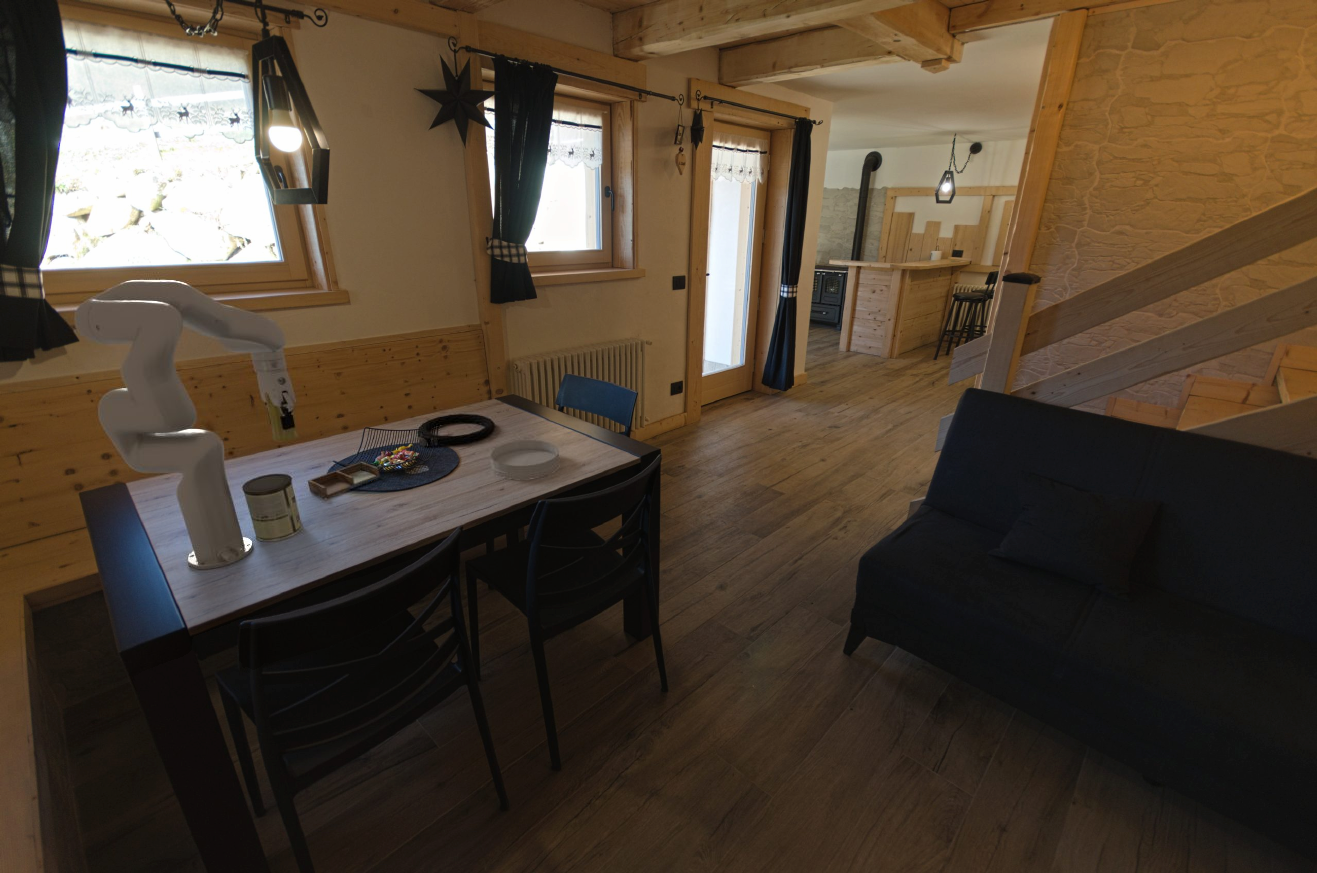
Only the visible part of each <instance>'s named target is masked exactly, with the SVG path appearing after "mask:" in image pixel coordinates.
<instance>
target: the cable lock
mask: <svg viewBox="0 0 1317 873" xmlns="http://www.w3.org/2000/svg"><path fill="white" fill-rule="evenodd" d="M460 422H462V424H469V423H470V424H475V423H476V424H475V425H481V426H483V428H481V429H480V430H478V431H475V432H470V433H466V434H460V435H459V434H458V435H439V434H433V433H430V431H431V430H433V429H432V428H434V427H436V426H438V427H441V426H440V425H442V426H446V425H450V423H453V424H459V423H460ZM436 428H437V427H436ZM434 429H435V428H434ZM495 429H496V425H495V422H494V420H492V419H491V418H489V417H487V416H484V415H480V414H473V413H472V414H470V413H458V414H456V413H455V414H447V415H443V416H438V417H435V418H431V419H429V420H427V421H425V422H423V423H421V424H420V426H418V429H417V432H416V434H417V437H418V443H419V445H420V446H421V445H422V446H426V447H428V446H429V445H430V444H431V446H432V445H434V446H435V445H436V444H437V445H438V446H445V447H446V446H447V447H448V446H450V447H451V446H452V447H453V446H460V445H468V444H472V443H476V442H480V441H482V440H484V439H486V438H489V437H491V435H492V434H493V433H494V432H495ZM427 443H428V446H427ZM422 446H421V447H422ZM429 447H430V446H429Z"/></svg>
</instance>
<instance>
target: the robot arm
mask: <svg viewBox="0 0 1317 873" xmlns="http://www.w3.org/2000/svg"><path fill="white" fill-rule="evenodd" d="M73 318H74V319H73V321H74V325H75V326H74V327H75V329H76V330H77V333H79V334H80V335H81V336H82V337H83V338H85V339H86V340H87V341H90V342H92V343H96V344H100V345H101V344H102V345H131V347H130V349H129V350H128V352H127V353H126V355H125V357H124V358H123V361H122V363H121V366H120V377H121V380H122V381H123V384H124V385H125V388H123V387H122V388H116V389H112V390H110V391H108V392H106V393H104V395H102V397H101V399H100V400H99V402H98V406H97V414H98V415H97V417H98V420H99V422H100V425H101V428H102V429H103V430H104V432H105V433H106V436H108V438H109V439H110V441H111V443H112V445H114V447H115V449H116V450H117V451H118V454H120V456H121V458H122V459H123V460H124V462H125V463H126V464H127V465H128V466H129V467H130V468H131V470H133V471H135V472H138V473H143V474H168V473H172V474H181V475H182V478H181V480H180V481H179V483H178V485H177V487H176V491H175V492H176V499H177V502H178V505H179V508H180V511H181V514H182V517H183V521H184V523H185V527H186V530H187V534H188V536H189V539H190V543H191V546H192V550H193V551H192V552H190V553H189V555H188V556H187V563H188V565H189V566H190V567H191V568H193V569H199V570H209V569H210V570H211V569H215V568H222V567H224V566H229V565H231V564H234V563H235V562H236V563H237V562H238V561H240V560H242V559H244V558H245V557H247V556H248V555H249V554H251V552H252V551H253V550H254V543H253V541H252V540H251V539H249V538H248V537H243V532H242V529H241V525H240V522H239V519H238V514H237V512H236V508H235V504H234V501H233V500H234V499H233V497H232V492H231V490H230V486H229V482H228V478H227V473H226V472H227V471H226V467H225V466H226V465H225V446H224V443H223V440H222V439H221V437H220V436H219V435H218V434H217V433H215V432H213V431H211V430H207V429H198V428H193V427H194V425H195V424H196V422H197V418H198V413H197V410H196V407H195V404H194V403H193V401H192V399H191V397H190V395H189V393H188V391H187V389H186V387H185V386H184V384H183V382H182V380H181V378H180V376H179V374H178V372H177V369H176V367H175V366H176V365H175V356H176V355H175V354H176V350H177V348H178V344H179V341H180V338H181V337H182V336H181V335H182V333H183V327H185V328H186V329H189V330H190V331H192V332H195V333H197V334H199V335H201V336H204V337H209V338H214V339H218V342H219V344H220V346H221V347H222V348H223V349H224V350H226V351H228V352H231V353H237V354H238V353H239V354H250V358H251V360H252V365H253V369H254V372H255V373H256V376H257V377H256V378H257V384H258V389H259V393H260V397H261V400H262V401H263V402H264V403H265V404H264V405H265V406H266V411H267V413H268V414H269V411H268V407H267V402H266V398H265V392H266V393H268V394H269V398H270V401H271V402H272V403H273V405H275V406H278V408H279V411H280V414H281V416H280V419H281V424H282V429H283V430H287V429H290V428H294V427H295V428H296V425H295V424H296V423H295V418H294V412H293V411H294V409H295V403H296V402H297V399H296V395H295V392H294V391H295V390H294V387H293V384H292V380H291V378H290V376H289V372H288V371H287V363H286V358H285V354H284V347H285V346H286V342H287V338H286V334H285V332H284V330H283V328H282V327H281V326H280V325H279V324H278V323H277V321H275V320H274V319H271V318H269V317H266V316H264V315H262V314H259V313H256V312H252V311H249V310H246V309H242V308H238V307H235V306H231V305H228V304H224V303H220V302H219V301H218V300H215V299H213V298H212V297H210V296H209V295H207V294H205V293H204V292H201V291H200V290H198V289H196V288H195V287H193V286H191V285H189V284H188V283H185V282H182V281H176V280H167V279H160V280H159V279H157V280H156V279H149V280H148V279H147V280H146V279H145V280H144V279H139V280H138V279H136V280H135V279H134V280H133V279H132V280H128V281H127V280H126V281H124V282H120V284H119V283H118V284H117V285H114V286H112V287H110V288H108V289H106V290H104V291H102V292H100V293H98V294H96V295H94V296H92V297H90V298H88V299H86V300H84V301H83V302H82V303H81V304H80V305H79V306H78V307H77V308H76V310H75V312H74V317H73ZM284 402H285V403H286V404H284V405H282V404H281V403H284ZM282 407H286V408H285V409H284V411H283V408H282ZM268 417H269V422H270V423H271V420H270V416H269V415H268Z"/></svg>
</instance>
